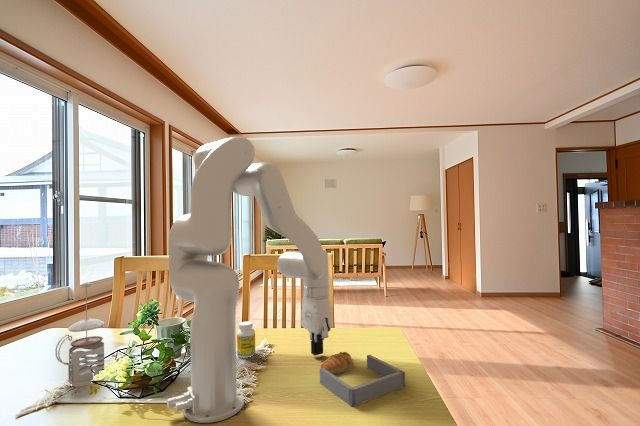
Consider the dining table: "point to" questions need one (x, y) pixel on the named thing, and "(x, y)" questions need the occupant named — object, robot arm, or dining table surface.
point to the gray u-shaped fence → (367, 391)
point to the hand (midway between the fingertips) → (317, 353)
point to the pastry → (338, 363)
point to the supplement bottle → (245, 340)
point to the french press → (82, 373)
